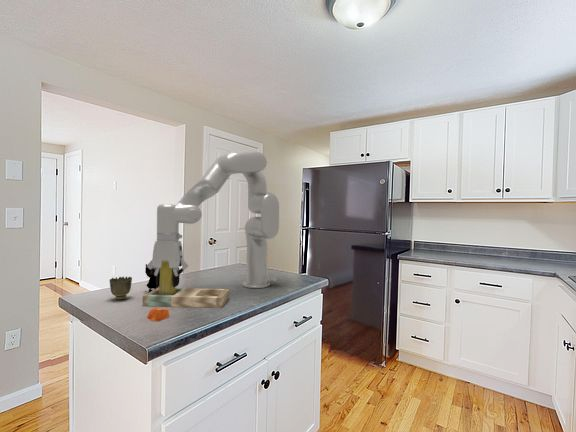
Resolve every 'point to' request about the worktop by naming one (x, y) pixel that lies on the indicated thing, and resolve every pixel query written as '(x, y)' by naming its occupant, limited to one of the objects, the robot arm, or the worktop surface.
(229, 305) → the worktop surface
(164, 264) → the vase
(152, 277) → the cat figurine
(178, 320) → the worktop surface
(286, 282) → the worktop surface
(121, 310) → the worktop surface
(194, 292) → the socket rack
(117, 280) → the cup
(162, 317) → the rock
